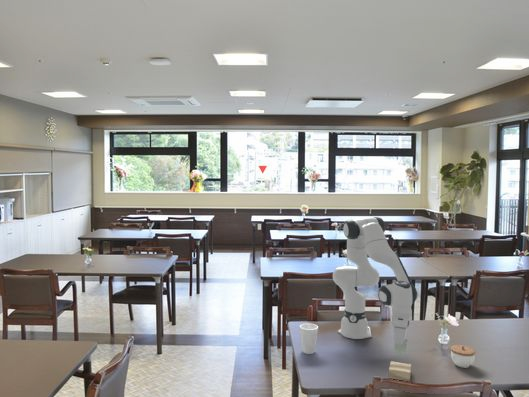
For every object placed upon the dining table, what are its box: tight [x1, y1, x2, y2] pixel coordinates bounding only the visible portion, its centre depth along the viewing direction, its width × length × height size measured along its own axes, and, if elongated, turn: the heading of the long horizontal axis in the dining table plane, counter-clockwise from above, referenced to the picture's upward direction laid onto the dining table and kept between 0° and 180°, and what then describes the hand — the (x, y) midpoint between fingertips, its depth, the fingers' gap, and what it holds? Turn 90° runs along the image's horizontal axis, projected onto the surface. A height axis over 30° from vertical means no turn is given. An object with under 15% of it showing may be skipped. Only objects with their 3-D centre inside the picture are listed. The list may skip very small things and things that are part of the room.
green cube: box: [393, 338, 408, 355], centre depth 197 cm, size 5×5×5 cm
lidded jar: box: [450, 344, 476, 369], centre depth 209 cm, size 11×11×9 cm
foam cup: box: [299, 322, 319, 355], centre depth 223 cm, size 10×9×13 cm
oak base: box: [388, 360, 412, 382], centre depth 197 cm, size 9×9×4 cm
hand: (400, 347), depth 197 cm, fingers closed on green cube, 5 cm apart
